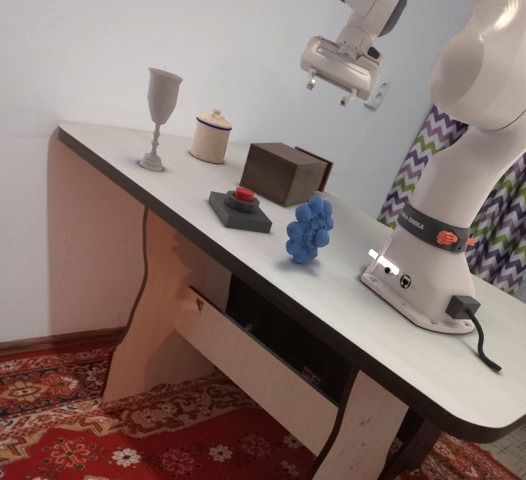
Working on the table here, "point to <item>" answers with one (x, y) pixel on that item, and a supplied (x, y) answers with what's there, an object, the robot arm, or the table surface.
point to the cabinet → (280, 173)
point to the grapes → (309, 229)
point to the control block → (239, 212)
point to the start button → (244, 194)
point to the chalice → (160, 109)
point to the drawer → (324, 171)
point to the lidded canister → (211, 137)
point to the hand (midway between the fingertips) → (325, 96)
